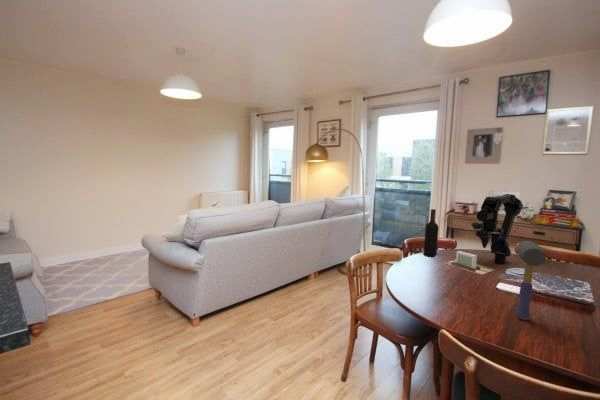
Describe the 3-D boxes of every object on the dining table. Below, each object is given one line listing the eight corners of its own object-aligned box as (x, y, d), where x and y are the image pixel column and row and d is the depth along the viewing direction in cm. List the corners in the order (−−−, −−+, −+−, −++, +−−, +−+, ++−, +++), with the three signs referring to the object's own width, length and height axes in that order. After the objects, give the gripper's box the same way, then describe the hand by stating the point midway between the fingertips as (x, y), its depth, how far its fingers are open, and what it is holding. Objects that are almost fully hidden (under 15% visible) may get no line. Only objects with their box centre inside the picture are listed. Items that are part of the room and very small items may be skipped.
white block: (455, 264, 170) (456, 251, 169) (458, 264, 171) (459, 250, 170) (473, 270, 161) (474, 256, 160) (475, 269, 163) (477, 255, 162)
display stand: (458, 260, 181) (458, 256, 181) (495, 271, 164) (495, 266, 163) (443, 264, 173) (444, 260, 173) (480, 276, 156) (481, 272, 155)
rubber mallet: (538, 329, 107) (549, 249, 103) (513, 323, 110) (522, 246, 106) (531, 313, 118) (540, 240, 114) (508, 309, 121) (516, 238, 117)
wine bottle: (420, 254, 191) (424, 208, 187) (429, 253, 195) (432, 208, 191) (430, 258, 185) (434, 210, 181) (439, 256, 188) (442, 210, 184)
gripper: (484, 215, 175) (482, 240, 177) (467, 218, 165) (464, 245, 168) (505, 218, 166) (502, 245, 168) (488, 222, 156) (485, 250, 158)
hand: (488, 246), depth 166 cm, fingers open, 9 cm apart
